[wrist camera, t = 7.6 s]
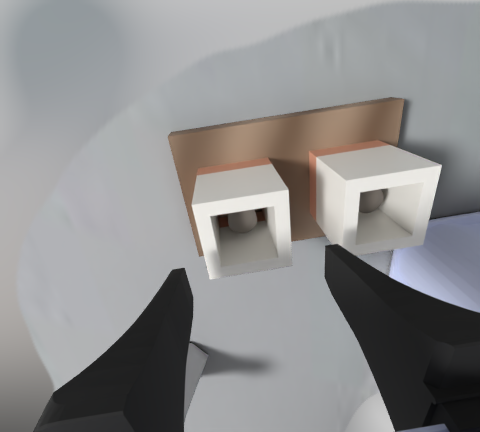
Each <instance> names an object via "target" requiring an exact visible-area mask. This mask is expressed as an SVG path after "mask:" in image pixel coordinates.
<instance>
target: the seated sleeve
mask: <svg viewBox="0 0 480 432" xmlns="http://www.w3.org/2000/svg"><path fill="white" fill-rule="evenodd" d="M441 167H442V165H440V164H438V163H435V162H433V161H430V160H428V159H425V158H423V157H420V156H417V155H415V154H412V153H410V152H407V151H405V150H402V149H400V148H397V147H394V146H392V145H389V144H387V143H384V142H382V141H379V140H376V141H369V142H363V143H357V144H351V145H344V146H338V147H332V148H326V149H319V150H313V151H309V183H310V214H311V215H312V216H313V218H314V219H315V221H316V222H317V224H318V225H319V227H320V228H321V229H322V231H323V232H324V234H325V235H326V237H327V238H328V239H329V241H330V242H331V244H332V245H333V244H338V245H340V246H342V247H343V248H345V249H346V250H348V251H349V252H350V253H352V254H353V255H355V256H358V255H364V254H370V253H376V252H382V251H389V250H395V249H401V248H407V247H413V246H419V245H423V243H424V239H425V235H426V230H427V226H428V222H429V218H430V214H431V209H432V205H433V201H434V197H435V193H436V188H437V184H438V180H439V176H440V172H441ZM378 189H380V190H381V191H382V192H383V196H384V197H383V202H382V204H381V205H380V206H379V207H378V208H377V209H376V210H375V211H373V212H370V213H361V212H359V201H360V192H366V191H372V190H378Z"/></svg>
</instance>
